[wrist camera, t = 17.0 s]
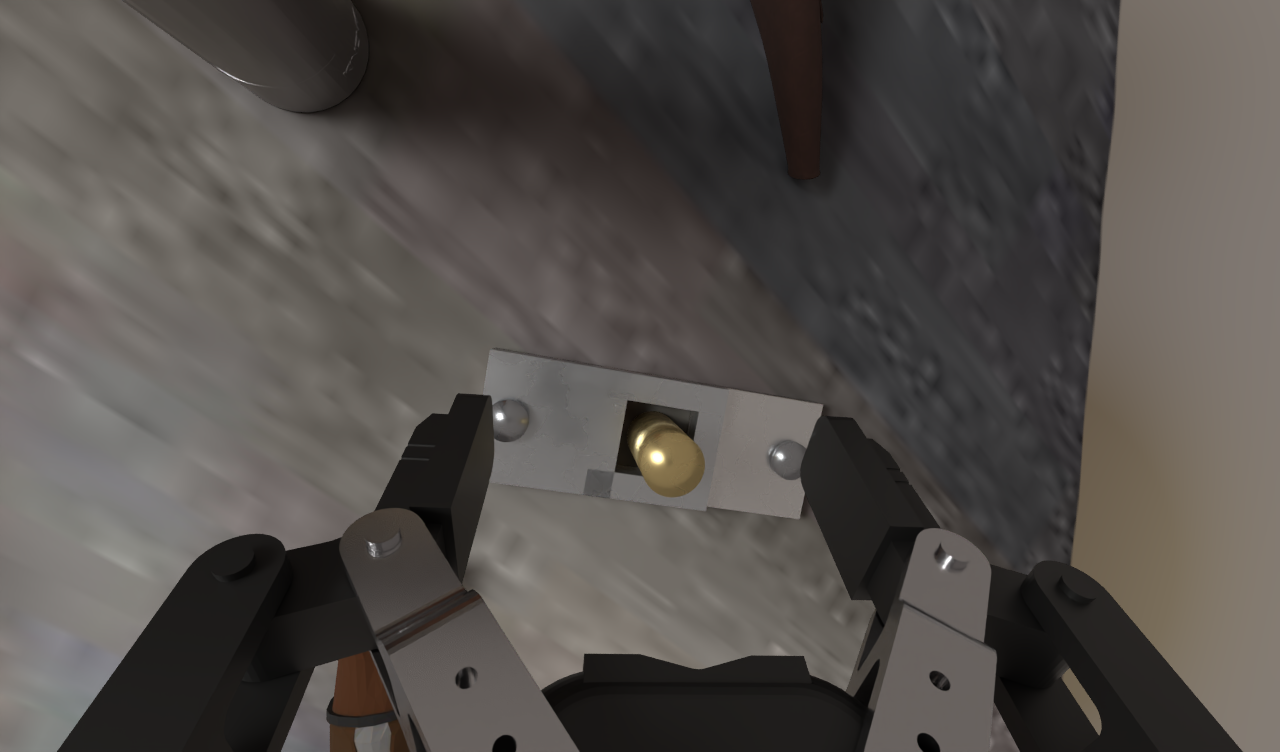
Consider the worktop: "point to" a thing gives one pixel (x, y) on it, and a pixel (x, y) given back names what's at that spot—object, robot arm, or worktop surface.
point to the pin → (665, 454)
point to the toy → (362, 710)
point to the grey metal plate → (592, 425)
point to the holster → (795, 76)
